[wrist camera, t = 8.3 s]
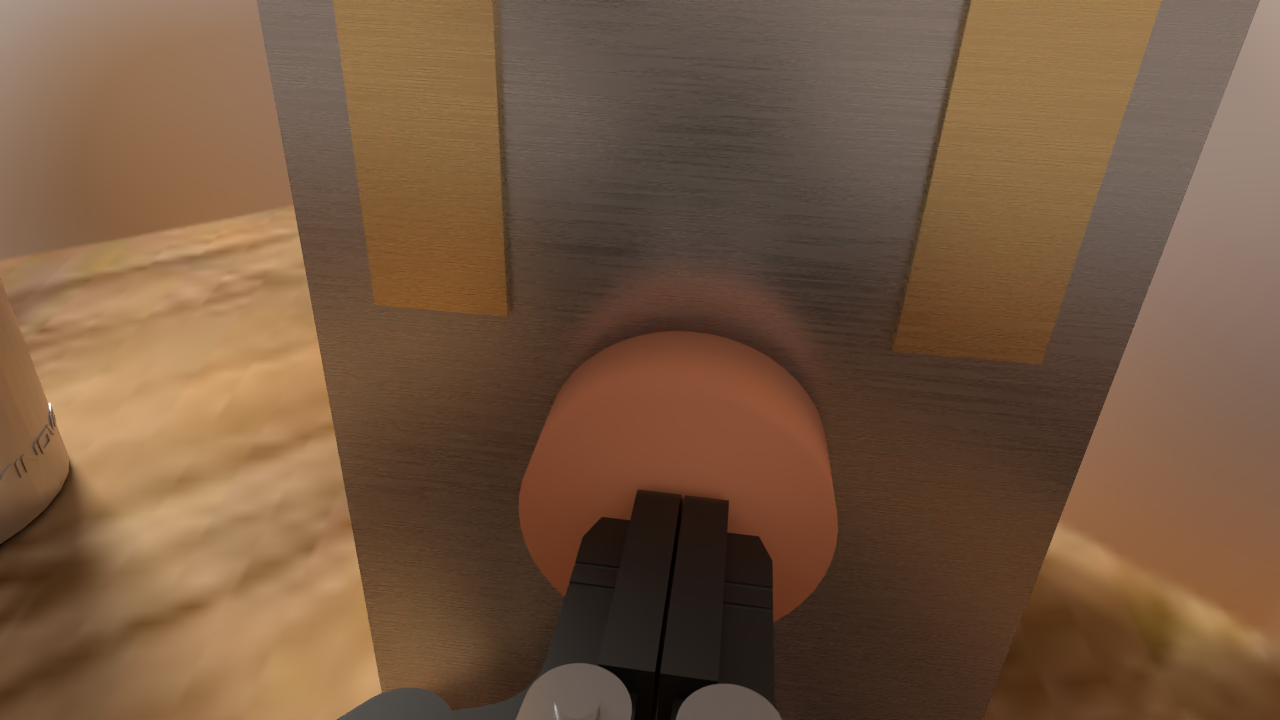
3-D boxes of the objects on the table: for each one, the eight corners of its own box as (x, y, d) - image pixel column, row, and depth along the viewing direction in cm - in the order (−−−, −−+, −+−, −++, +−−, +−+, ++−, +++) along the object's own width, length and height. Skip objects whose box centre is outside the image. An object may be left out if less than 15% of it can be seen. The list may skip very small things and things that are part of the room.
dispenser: (972, 801, 19) (1848, -1341, 6) (368, 719, 20) (-10, -1196, 7) (889, 472, 29) (1129, -520, 17) (503, 433, 31) (452, -519, 18)
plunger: (812, 657, 14) (864, 410, 12) (523, 621, 14) (512, 376, 12) (782, 313, 26) (805, 155, 24) (626, 300, 27) (631, 143, 24)
